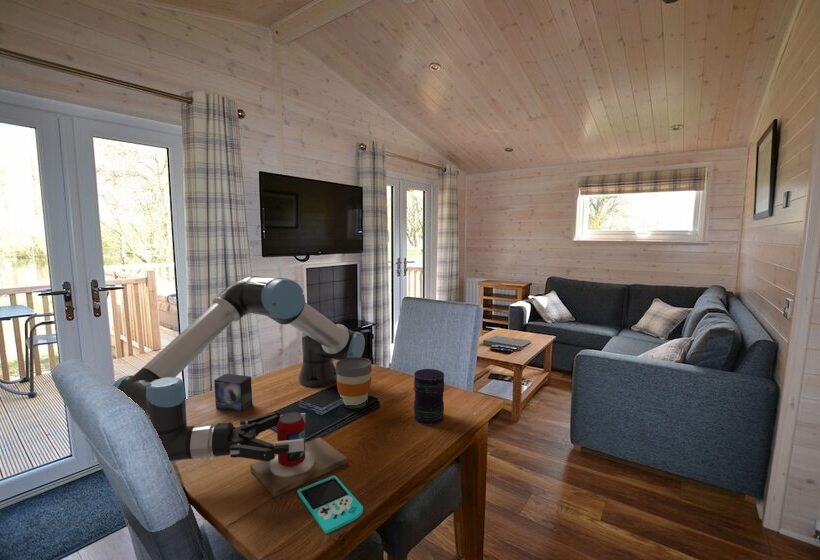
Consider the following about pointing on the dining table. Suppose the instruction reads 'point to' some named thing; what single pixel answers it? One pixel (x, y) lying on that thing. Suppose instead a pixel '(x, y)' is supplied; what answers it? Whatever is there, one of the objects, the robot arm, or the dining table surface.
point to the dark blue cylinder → (428, 396)
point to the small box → (233, 392)
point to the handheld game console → (330, 503)
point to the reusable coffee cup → (353, 379)
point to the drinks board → (298, 467)
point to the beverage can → (291, 437)
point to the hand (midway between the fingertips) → (304, 430)
